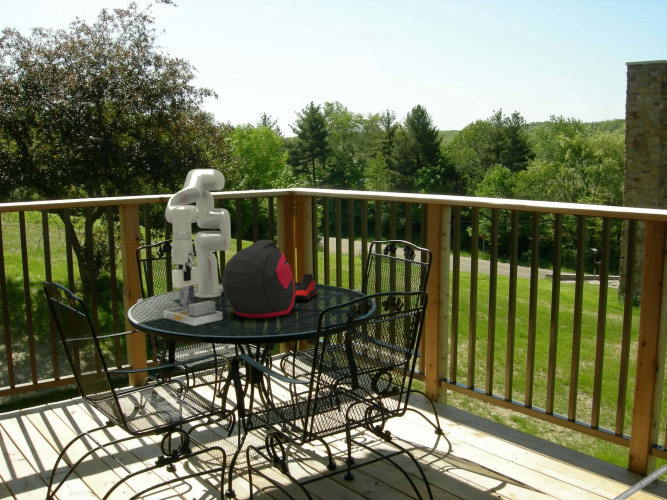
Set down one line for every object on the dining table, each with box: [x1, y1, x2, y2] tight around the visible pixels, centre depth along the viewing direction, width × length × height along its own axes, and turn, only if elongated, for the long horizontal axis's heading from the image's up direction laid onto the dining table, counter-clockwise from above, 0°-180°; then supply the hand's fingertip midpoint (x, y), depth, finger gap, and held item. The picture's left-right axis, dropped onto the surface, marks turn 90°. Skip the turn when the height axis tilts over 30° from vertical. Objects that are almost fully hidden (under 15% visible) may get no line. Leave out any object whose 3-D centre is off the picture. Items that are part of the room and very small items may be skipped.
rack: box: [162, 300, 224, 327], centre depth 269 cm, size 22×14×8 cm, turn 47°
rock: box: [178, 285, 196, 307], centre depth 295 cm, size 10×6×10 cm, turn 48°
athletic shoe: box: [294, 273, 318, 302], centre depth 305 cm, size 8×20×12 cm, turn 163°
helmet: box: [220, 239, 296, 319], centre depth 277 cm, size 26×32×30 cm
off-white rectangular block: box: [171, 266, 199, 289], centre depth 271 cm, size 4×10×7 cm, turn 136°
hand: (184, 279), depth 271 cm, fingers closed on off-white rectangular block, 4 cm apart
